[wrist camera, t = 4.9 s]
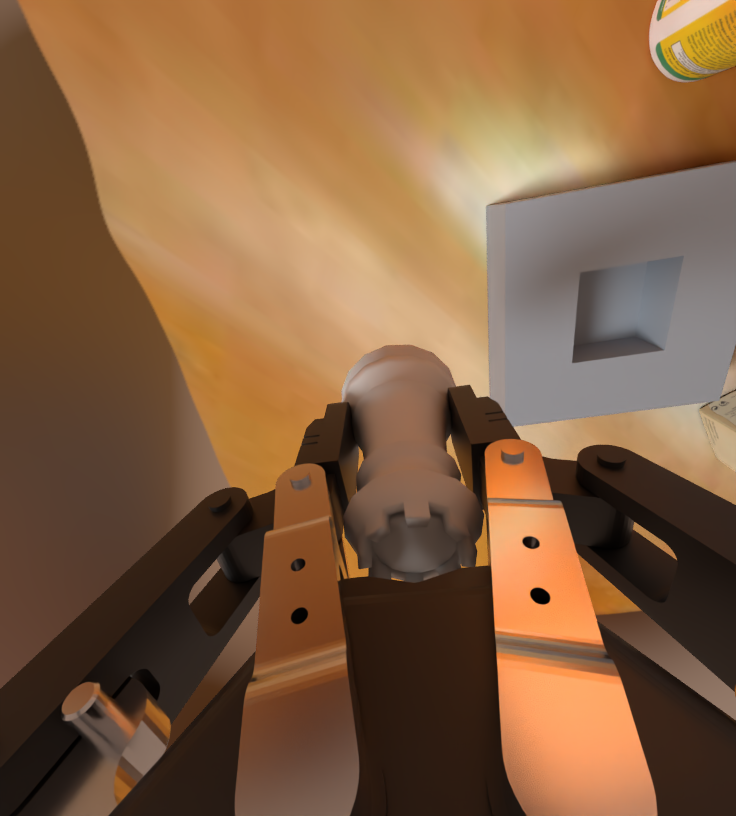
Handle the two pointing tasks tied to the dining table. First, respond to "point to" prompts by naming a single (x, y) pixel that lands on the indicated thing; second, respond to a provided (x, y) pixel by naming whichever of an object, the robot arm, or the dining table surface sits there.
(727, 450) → the skincare box
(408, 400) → the rook chess piece
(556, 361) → the socket block
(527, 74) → the dining table surface
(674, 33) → the supplement bottle
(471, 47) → the dining table surface
